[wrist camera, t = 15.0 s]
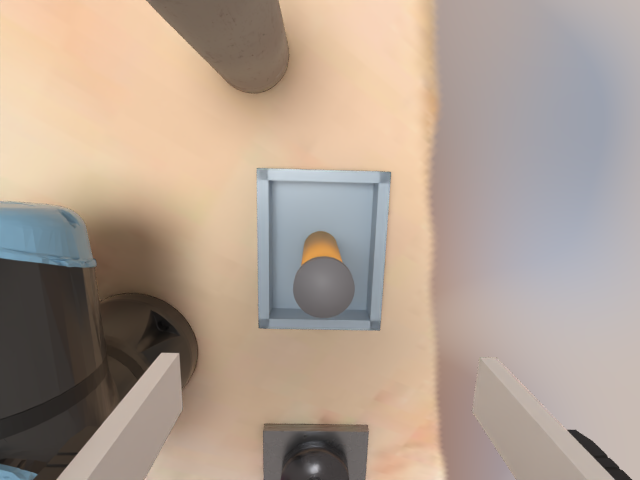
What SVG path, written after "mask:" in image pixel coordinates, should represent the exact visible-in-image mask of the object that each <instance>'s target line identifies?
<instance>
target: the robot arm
mask: <svg viewBox="0 0 640 480" xmlns="http://www.w3.org/2000/svg"><path fill="white" fill-rule="evenodd" d="M96 266H97V263H96V260H95V259H94V258H93V256H92V251H91V247H90V243H89V238H88V234H87V228H86V225H85V223H84V221H83V219H82V218H81V217H80V216H79V215H78V214H77V213H75V212H74V211H72V210H70V209H68V208H65V207H62V206H57V205H49V204H38V203H26V202H11V201H0V480H144V479H145V478H146V476H147V474H148V472H149V470H150V468H151V466H152V465H153V463H154V461H155V459H156V457H157V455H158V454H159V452H160V450H161V448H162V446H163V444H164V443H165V441H166V439H167V437H168V435H169V433H170V432H171V430H172V428H173V426H174V424H175V422H176V421H177V419H178V417H179V415H180V413H181V411H182V410H183V402H182V390H183V389H184V387H185V386H186V384H187V382H188V381H189V379H190V377H191V376H192V374H193V372H194V369H195V366H196V362H197V343H196V339H195V336H194V333H193V331H192V329H191V327H190V325H189V324H188V322H187V321H186V320H185V318H184V317H183V316H182V315H181V314H180V313H179V312H178V311H177V310H176V309H174V308H173V307H172V306H170V305H169V304H167V303H165V302H164V301H162V300H160V299H157V298H155V297H152V296H148V295H143V294H135V293H127V294H119V295H115V296H111V297H109V298H106V299H104V300H102V301H100V302H99V297H98V290H97V282H96V274H95V267H96ZM472 413H473V414H474V416H475V417H476V419H477V420H478V422H479V423H480V425H481V426H482V428H483V429H484V431H485V432H486V434H487V436H488V437H489V439H490V440H491V442H492V443H493V445H494V446H495V448H496V449H497V451H498V452H499V454H500V456H501V457H502V459H503V460H504V462H505V463H506V464H507V466H508V468H509V469H510V471H511V472H512V474H513V476H514V477H515V479H516V480H632V479H631V478H630V477H629V476H628V475H627V474H626V473H625V472H624V471H623V470H620V469H619V467H618V466H617V464H615V463H614V461H612V460H611V459H610V458H608V457H607V455H606V454H605V453H604V452H603V451H602V450H601V449H600V448H599V447H598V446H597V445H596V444H595V443H594V442H593V441H591V440H590V439H588V438H587V437H585V436H584V435H582V434H581V433H579V432H578V431H576V430H566V429H565V428H564V427H563V426H562V425H561V423H560V422H559V421H558V420H557V419H556V418H555V417H554V416H553V415H552V414H551V413H550V412H549V411H548V410H547V409H546V408H545V407H544V406H543V405H542V404H541V403H540V402H539V401H538V400H537V399H536V398H535V397H534V396H533V395H532V394H531V393H530V391H528V389H527V388H526V387H525V386H524V385H523V384H522V383H521V382H520V381H519V380H518V379H517V378H516V377H515V376H514V375H513V374H512V373H511V372H510V371H509V370H508V369H507V368H506V367H505V366H504V365H503V364H502V363H501V362H500V360H498V358H491V357H488V358H487V357H480V358H479V366H478V372H477V380H476V387H475V395H474V401H473V408H472Z"/></svg>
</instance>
